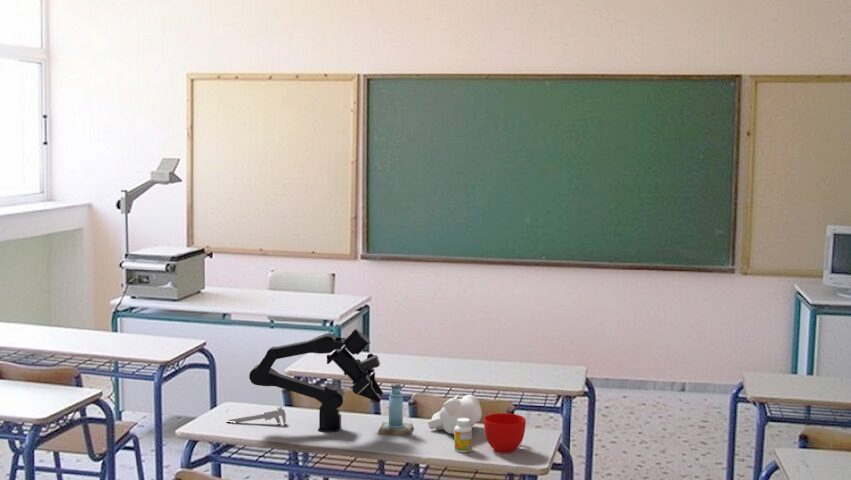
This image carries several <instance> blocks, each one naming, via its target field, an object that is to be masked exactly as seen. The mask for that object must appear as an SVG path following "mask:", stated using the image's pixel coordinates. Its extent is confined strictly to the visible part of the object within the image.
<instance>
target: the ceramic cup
mask: <svg viewBox="0 0 851 480" xmlns="http://www.w3.org/2000/svg"><path fill="white" fill-rule="evenodd" d="M526 422H527V421H526V418H525V417H524V416H522V415H520V414H514V413H506V412H505V413H504V412H503V413H500V412H499V413H491V414H488V415H485V416H484V417H483V426H484V427H483V428H484V435H485V438H486V440H487V443H488V444H489V446H490V447H491V448H492V450H493V451H494V452H495V453H498V454H500V453H501V454H511V453H514V452H515V451H516V450H517V449H518V448H519V447H520V445H521V444H522V441H523V439H524V436H525V432H526V424H527V423H526Z"/></svg>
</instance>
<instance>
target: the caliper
mask: <svg viewBox="0 0 851 480" xmlns="http://www.w3.org/2000/svg"><path fill="white" fill-rule="evenodd" d="M280 416H281V419H282V422H283V425H285V424H286V423H287V421H286V419H287V418H286V417H287V415H286V410H285V409H283V406H280V407H279V406H277V408H276V410H269V411H264V412H263V413H259V414H254V415H246V416H241V417H234V418H228V421H235V422H239V423H242V422H243V423H244V422H245V423H246V422H248V421H249V422H250V421H255V420H262V419H264V421H270V420H272V419H275V421H276V423H277V424H278V423H280V424H281V419H280Z"/></svg>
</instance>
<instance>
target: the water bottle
mask: <svg viewBox="0 0 851 480" xmlns="http://www.w3.org/2000/svg"><path fill="white" fill-rule="evenodd" d="M401 387H402V384H400V383H391V385H390V388H391V391H390V393H389V396H388V422H389V424H388V427H390V428H402V427H403V423H404V422H403V421H404V420H403V417H404V413H403V411H404V404H403V403H404V396H403V393H402V392H401Z"/></svg>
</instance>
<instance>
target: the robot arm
mask: <svg viewBox="0 0 851 480" xmlns="http://www.w3.org/2000/svg"><path fill="white" fill-rule="evenodd" d="M370 344H371V341H370V339H369V338H368V337H367V335H365V334H363V333H362V332H361V331H359V330H358V328H355V329H353V331H352V332H351V333H350V334H349V335H348V336H347V337H345V338H344V337H339V336H336V335H335V334H333V333H331V332H327V333H324V334H321V335H319V336H316V337H314V338H312V339H309V340H305V341H300V342H296V343H295V342H294V343H289V344H284V345H279V346H271V347H270V348H268V350H267V351H266V354H265V356H264V357H263V358H262V359H261V361H260V363H258V364H256V365H255V366H254V367H253V368H252V370H250V372H249V374H248V375H249V377H248V378H249V380H250V382H251V384H252V385H255V386H260V387H261V386H262V387H277V388H279V389H283V390H285V391H289V392H293V393H295V394H296V393H297V394H300V395H303V396H306V397H309V398H312V399H315V400H316V401H318V402H319V403H321V404H320V406H319V408H318V410H319V411H318V412H319V416H318V418H319V419H318V420H319V425H318V426H319V427H318V429H317V431H320V432H338V431H339V430H340V429H341V427H342V414H341V412H340V411H341V410H340V409H339V408H340V407H342V405H343V404H344V402H345V401H344V400H345V398H346V394H345V391H344V389H343V388H341V387H340V386H339V385H334V384H332V383H330V382H326V384H325V386H323V385H321V386H320V385H317V384H313V383H311V382H307V381H304V380H301V379H298V378H294V377H291V376H289V375H285V374H282V373H279V372H278V371H276V370H275V369H273V368H272V367H273V365H274V363H275V362H276V360H280V359H284V358H285V359H286V358H291V357H295V356H299V355H306V354H307V355H308V354H319V355H321V354H327V355H326V364H327V365H329V364H330V363H331V362H332V361H333V362H334V364H335V365H337V366H338V367H339V369H340V370H342V372H343V375H344V376H347V377H348V378H349V379H350V380H351V381H352V386H351V387H352V390H351V391H352V392H353V393H354V394H355V395H358V396H361V397H364V398H367V399H369V400H372V401H374V402H377V403H380V402H381V400H382V399H381V398H380V396H382V395H383V394H384V392H383V390H382V388H381V387H380V385H379V384H378V381H377V379H376V371H375V368H379V367H380V364H381V362H380V359H379V356H378V355H377V354H375V355H374V354H373V353H372V352H371V353H370V352H369V353H368V354H367V355H366V358H365V359H364V360H360V359H359V358H356V357H354V355H357V356H358V355H360V354H361V353H362V351H364V350H365V349H366V348H367V347H368V346H369V345H370ZM379 395H380V396H379Z"/></svg>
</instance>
